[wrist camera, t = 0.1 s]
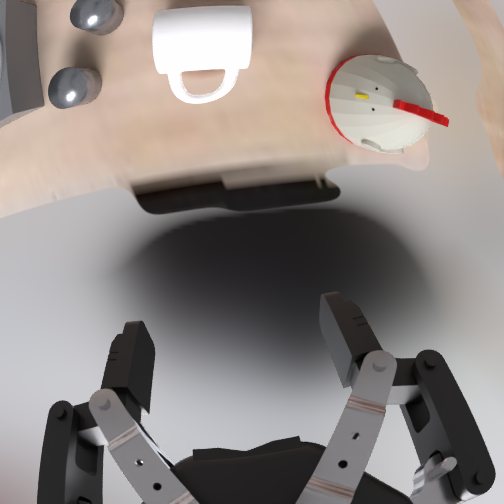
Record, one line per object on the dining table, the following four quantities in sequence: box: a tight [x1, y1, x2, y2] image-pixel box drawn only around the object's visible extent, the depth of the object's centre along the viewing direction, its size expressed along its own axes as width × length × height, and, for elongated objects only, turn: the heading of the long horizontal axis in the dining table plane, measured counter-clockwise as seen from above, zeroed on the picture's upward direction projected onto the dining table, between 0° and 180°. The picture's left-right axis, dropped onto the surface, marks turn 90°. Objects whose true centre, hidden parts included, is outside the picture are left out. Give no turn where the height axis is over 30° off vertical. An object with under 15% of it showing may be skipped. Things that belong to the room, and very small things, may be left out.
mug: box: [152, 6, 252, 104], centre depth 27 cm, size 12×10×8 cm
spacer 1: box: [70, 0, 124, 35], centre depth 22 cm, size 5×5×6 cm
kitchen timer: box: [325, 55, 449, 154], centre depth 29 cm, size 14×14×15 cm
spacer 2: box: [48, 67, 102, 109], centre depth 27 cm, size 5×5×6 cm
